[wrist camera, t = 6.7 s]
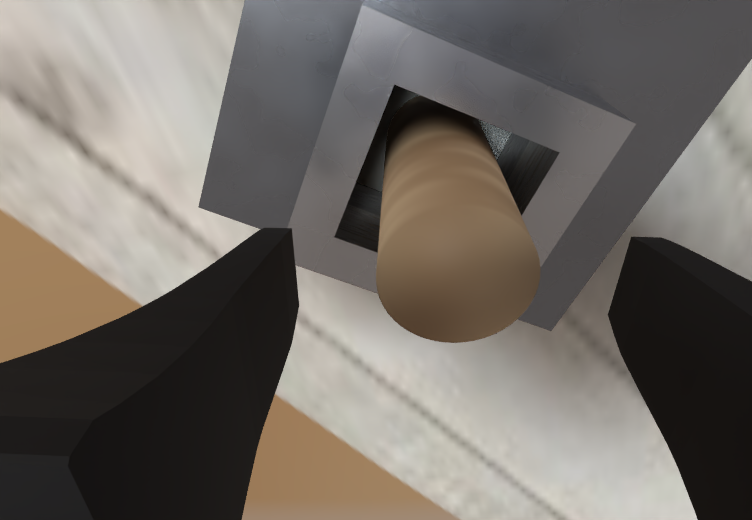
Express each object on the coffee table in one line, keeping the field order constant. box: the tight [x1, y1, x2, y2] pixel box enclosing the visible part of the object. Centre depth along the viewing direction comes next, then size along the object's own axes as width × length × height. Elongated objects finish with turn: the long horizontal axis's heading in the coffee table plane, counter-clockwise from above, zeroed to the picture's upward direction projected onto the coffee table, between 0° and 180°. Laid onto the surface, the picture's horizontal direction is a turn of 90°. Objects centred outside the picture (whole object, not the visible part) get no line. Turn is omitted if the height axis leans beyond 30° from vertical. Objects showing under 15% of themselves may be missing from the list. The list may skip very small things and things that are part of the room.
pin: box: [376, 95, 541, 343], centre depth 15 cm, size 3×3×9 cm
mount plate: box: [199, 0, 752, 334], centre depth 14 cm, size 14×18×4 cm
